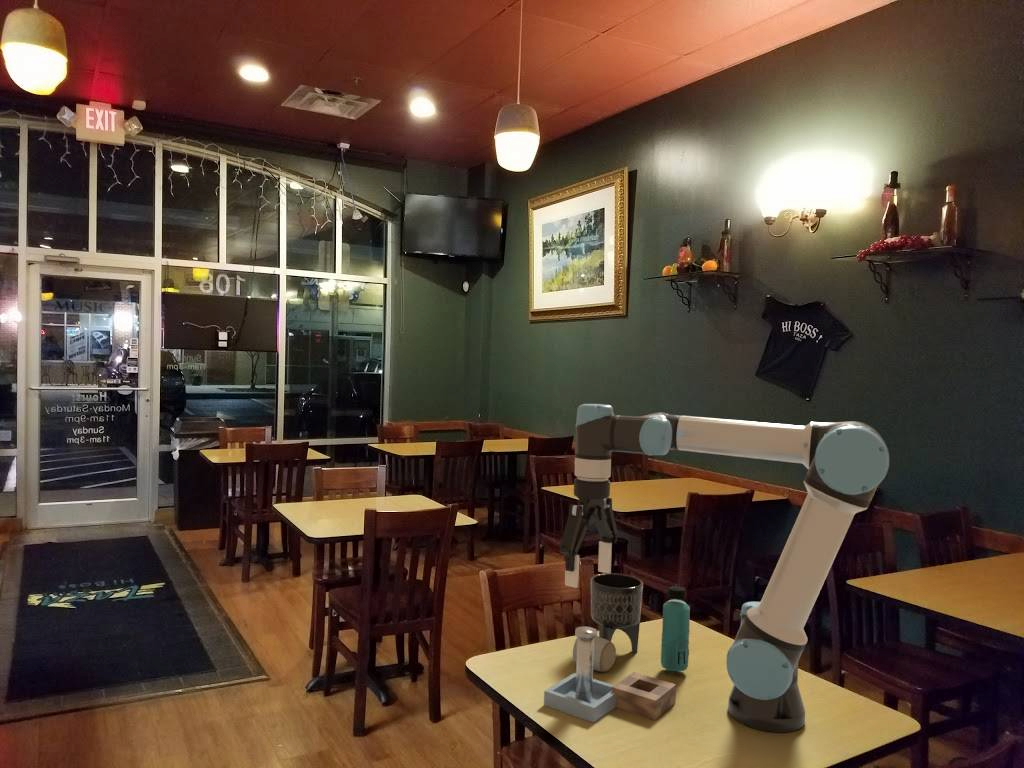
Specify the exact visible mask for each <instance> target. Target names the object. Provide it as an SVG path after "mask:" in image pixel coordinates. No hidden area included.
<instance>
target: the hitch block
mask: <svg viewBox="0 0 1024 768" xmlns="http://www.w3.org/2000/svg"><path fill="white" fill-rule="evenodd" d="M613 685H614V686H612V692H615V693H616V704H615V708H618V709H620V710H624V711H625V712H629V713H633V714H635V715H639V716H641V717H644V718H647V719H650V720H653V721H656V720H657V719H658V718H659V717H661V716H662V715H663V714H664V713H665V712H667V710H670V708H672V707H673V706H674V705H675V704H676V696H677V695H676V694H677V684H676V683H673V682H668V681H665V680H662V679H659V678H655V677H652V676H649V675H645V674H642V673H639V672H635V671H633V672H632V673H630V674H628V675H627V676H625V677H624V678H622V679H621V680H620V681H618V682H617V683H615V684H613Z"/></svg>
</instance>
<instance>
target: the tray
mask: <svg viewBox="0 0 1024 768" xmlns="http://www.w3.org/2000/svg"><path fill="white" fill-rule="evenodd" d="M614 685H615V684H610V683H608V682H605V681H601V680H598V679H594V678H593V684H592V702H591V703H587V702H584V701H581V700H579V699H576V698H575V690H576V672H574V673H571V674H570V675H568V676H567V677H565V678H563V679H562V680H560V681H559V682H557V683H555V684H554V685H552V686H550V687H549V688H546V689H545V690H544V692H543V695H544V696H543V705H544V706H545V707H549V708H550V709H554V710H557V711H559V712H562V713H565V714H568V715H571V716H574V717H576V718H579V719H582V720H585V721H589V722H591V723H596V722H597V721H599V719H601V718H602V717H604V716H605V715H607V714H608V713H609V712H610V711H612V710H613V709H615V708H616V707H615V704H616V693H615V692H612V686H614Z"/></svg>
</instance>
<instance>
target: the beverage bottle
mask: <svg viewBox="0 0 1024 768" xmlns="http://www.w3.org/2000/svg"><path fill="white" fill-rule="evenodd" d="M686 592H687V590H686V588H685V587H682V586H678V585H677V586H676V585H673V586H669V587H668V592H667V597H669V598H670V600H668V601H666V602H665V603H663V605H662V629H661V630H662V631H661V643H660V644H661V648H660V664H661V666H662V668H664V669H665V670H668V671H673V672H683V671H686V670H688V667H689V662H690V661H689V656H690V647H689V646H690V634H691V633H690V631H691V630H690V627H691V621H690V617H691V616H690V611H691V607H690V605H689V604H687V603H686V602H685V601H684V600H685V599H686V598H687V595H686V594H687V593H686Z"/></svg>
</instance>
